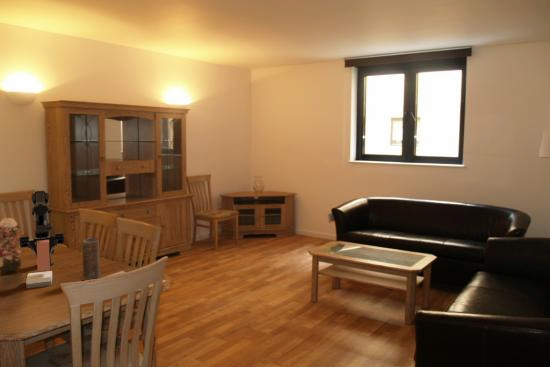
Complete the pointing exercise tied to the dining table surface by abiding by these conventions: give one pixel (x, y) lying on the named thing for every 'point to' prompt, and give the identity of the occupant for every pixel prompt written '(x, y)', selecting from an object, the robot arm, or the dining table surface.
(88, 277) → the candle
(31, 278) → the base block
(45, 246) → the top brick
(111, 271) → the dining table surface
